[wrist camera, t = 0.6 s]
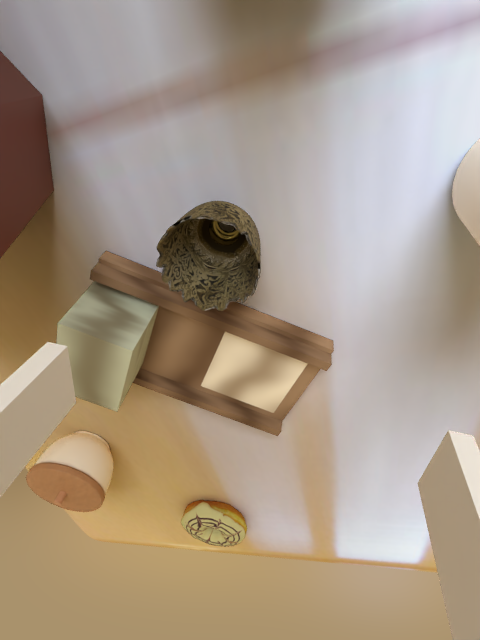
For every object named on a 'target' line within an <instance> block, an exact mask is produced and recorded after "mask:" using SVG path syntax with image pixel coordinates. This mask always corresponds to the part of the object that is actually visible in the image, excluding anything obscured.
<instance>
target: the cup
mask: <svg viewBox="0 0 480 640" xmlns="http://www.w3.org/2000/svg"><path fill="white" fill-rule="evenodd" d="M219 222H221V223H223V224H226V225H232V226H234V227H235V230H234V231H233V232H225V231H223V230H222V229H221V228H220V226H219ZM157 250H158V252H159V254H160V257H159V258H158V260H157V265H156V266H157V267H159V268H160V267H161V268H162V267H163V271H162V280H163V282H165V283H166V284H167V283H168V285H169V290H170V291H173V292H174V291H177V292H179V291H182V298H183V301H184V302H187V301H189V300H192V301H194V302H195V305H196V306H197V307H199V308H200V309H201V310H203V311H206V310H210V309H214V308H217V309H218V310H219V311H223V310H225V309H226V308H227V305H228V303H229V302H231V301H234V302H236V301H237V300H238V299H242V303H243V302H244V301H245V300H246V299H247V296H248V295H251V296H252V295H253V294H254V292H255V290H256V286H257V281H258V277H259V278H260V272H261V269H260V238H259V233H258V230H257V228H256V225H255V223H254V221H253V220H252V218H251V217H250V216H249V215H248V214H247V213H246V212H245V211H244V210H243V209H241V208H240V207H238V206H236V205H234V204H231V203H228V202H224V201H211V202H207V203H204V204H201V205H199V206H197V207H195V208H193V209H192V210H191V211H189V212H188V213H187V214H185V215H184V216H183V217H182V218H181V219H179V220H178V221H177V222H176V223H175V224H173V225H172V226H171V227H170V228H169V229H168V230H167V231H166V233H165V234H164V235H163V237H162V238H161V239H160V241H159V243H158V245H157ZM163 265H164V266H163Z"/></svg>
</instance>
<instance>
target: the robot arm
mask: <svg viewBox="0 0 480 640" xmlns="http://www.w3.org/2000/svg"><path fill="white" fill-rule="evenodd" d="M75 403H76V398H75V392H74V385H73V379H72V372H71V366H70V359H69V352H68V346H64V345H60V344H55V343H51V342H47V343H46V344H45V345H44V346H43V347H41V348H40V349H39V350H38V351H37V352H36V353H35V354H34V355H33V356H31V357H30V358H29V359H28V360H27V361H26V362H25V363H24V364H23V365H22V366H20V367H19V368H18V369H17V370H16V371H15V372H14V373H13V374H12V375H10V376H9V377H8V378H7V379H6V380H5V381H4V382H3V383H2V384H1V385H0V497H1V496H2V495H3V493H4V492H5V491H6V490H7V488H8V487H9V486H10V485H11V483H12V482H13V481H14V480H15V478H16V477H17V476H18V475H19V473H20V472H21V471H22V470H23V468H24V467H25V466H26V465H27V463H28V462H29V461H30V460H31V458H32V457H33V456H34V455H35V453H36V452H37V451H38V450H39V448H40V447H41V446H42V445H43V443H44V442H45V441H46V440H47V438H48V437H49V436H50V435H51V433H52V432H53V431H54V430H55V428H56V427H57V426H58V425H59V423H60V422H61V421H62V420H63V418H64V417H65V416H66V415H67V413H68V412H69V411H70V410H71V408H72V407H73V406H74V405H75ZM418 487H419V491H420V496H421V500H422V505H423V509H424V514H425V518H426V522H427V527H428V531H429V536H430V540H431V545H432V549H433V554H434V558H435V562H436V567H437V571H438V576H439V580H440V585H441V589H442V594H443V598H444V602H445V607H446V611H447V616H448V620H449V625H450V629H451V634H452V637H453V640H480V451H479V448H478V446H477V443H476V441H475V439H474V436H473V435H468V434H464V433H459V432H454V431H450V430H448V432H447V434H446V435H445V437H444V439H443V440H442V442H441V444H440V446H439V447H438V449H437V451H436V453H435V454H434V456H433V458H432V459H431V461H430V463H429V465H428V466H427V468H426V470H425V472H424V473H423V475H422V477H421V478H420V480H419V482H418Z"/></svg>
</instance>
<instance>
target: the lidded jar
mask: <svg viewBox="0 0 480 640" xmlns="http://www.w3.org/2000/svg"><path fill="white" fill-rule="evenodd" d="M113 467H114V463H113V457H112V454H111V452H110V447H109V444H108V443H107V442H106V441H105V440H104V439H103V438H102V437H100V436H98V435H96V434H94V433H91V432H87V431H77V432H74V433H73V434H69V435H66V436H63V437H61V438H59V439H57V440H56V441H54V442H53V443H52V444H51V445H50V446H49V447H48V448H47V449H46V450H45V451H44V452H43V453H42V454H41V456H40V457H39V458H38V460H37V461H36V463H35V464H34V466H33V467H32V468H31V469H30V470H29V472H28V474H27V476H26V480H27V483H28V486H29V487H30V488H31V489H32V491H33V492H34V493H36V494H37V495H38V496H40V497H41V498H43V499H44V500H46V501H48V502H49V503H51V504H54V505H56V506H58V507H61V508H64V509H68V510H72V511H79V512H89V511H94V510H96V509H98V508H100V507H101V505H102V503H103V501H104V499H105V495H106V492H107V490H108V488H109V485H110V482H111V479H112V475H113Z"/></svg>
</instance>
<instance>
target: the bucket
mask: <svg viewBox="0 0 480 640" xmlns="http://www.w3.org/2000/svg"><path fill="white" fill-rule="evenodd" d="M53 191H54V188H53V180H52V171H51V163H50V155H49V147H48V139H47V131H46V123H45V114H44V106H43V98H42V94H41V93H40V92H39V91H38V90H37V89H36V88H35V87H34V86H33V85H32V84H31V83H30V82H29V81H28V80H27V79H26V78H25V77H24V76H23V74H22V73H21V72H20V71H19V70H18V69H17V68H16V67H15V66H14V65H13V64H12V63H11V62H10V61H9V60H8V59H7V58H6V57H5V56H4V54H3V53H2V52H1V51H0V258H1V257H2V256H3V254H4V253H5V252H6V250H7V249H8V248H9V247H10V245H11V244H12V243H13V242H14V240H15V239H16V238H17V236H18V235H19V234H20V233H21V231H22V230H23V229H24V228H25V226H26V225H27V224H28V222H29V221H30V220H31V219H32V217H33V216H34V215H35V213H36V212H37V211H38V210H39V208H40V207H41V206H42V205H43V203H44V202H45V201H46V199H47V198H48V197H49V196H50V194H51V193H52V192H53Z"/></svg>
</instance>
